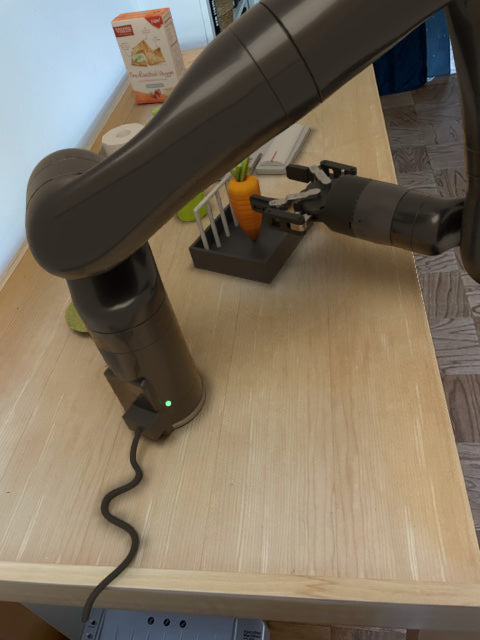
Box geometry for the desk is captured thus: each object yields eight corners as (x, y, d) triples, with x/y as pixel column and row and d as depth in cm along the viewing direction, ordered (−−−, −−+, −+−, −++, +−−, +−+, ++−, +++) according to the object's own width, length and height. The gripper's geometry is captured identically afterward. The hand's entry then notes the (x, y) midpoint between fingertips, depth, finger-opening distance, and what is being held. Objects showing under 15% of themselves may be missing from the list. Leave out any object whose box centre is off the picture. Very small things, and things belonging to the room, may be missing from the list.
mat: (150, 316, 81) (146, 307, 79) (81, 352, 78) (76, 343, 77) (125, 280, 89) (121, 271, 87) (62, 311, 86) (56, 302, 85)
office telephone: (310, 119, 112) (284, 168, 99) (311, 130, 114) (286, 181, 101) (209, 122, 120) (173, 169, 107) (211, 133, 122) (177, 180, 109)
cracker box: (137, 105, 144) (108, 21, 129) (146, 95, 148) (119, 12, 133) (184, 102, 139) (160, 13, 125) (192, 92, 143) (169, 5, 129)
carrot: (234, 246, 87) (213, 163, 77) (249, 229, 90) (231, 146, 80) (260, 251, 85) (242, 167, 75) (275, 233, 88) (259, 149, 78)
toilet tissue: (95, 178, 118) (79, 141, 112) (150, 155, 120) (138, 118, 114) (105, 194, 111) (89, 156, 105) (163, 170, 114) (151, 132, 108)
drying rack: (269, 284, 81) (257, 227, 74) (194, 267, 87) (177, 214, 80) (313, 223, 89) (306, 167, 82) (242, 212, 96) (230, 160, 89)
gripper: (398, 156, 68) (295, 138, 77) (338, 216, 62) (233, 188, 71) (398, 206, 73) (301, 183, 82) (342, 266, 67) (243, 234, 76)
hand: (269, 185), depth 77 cm, fingers open, 8 cm apart
